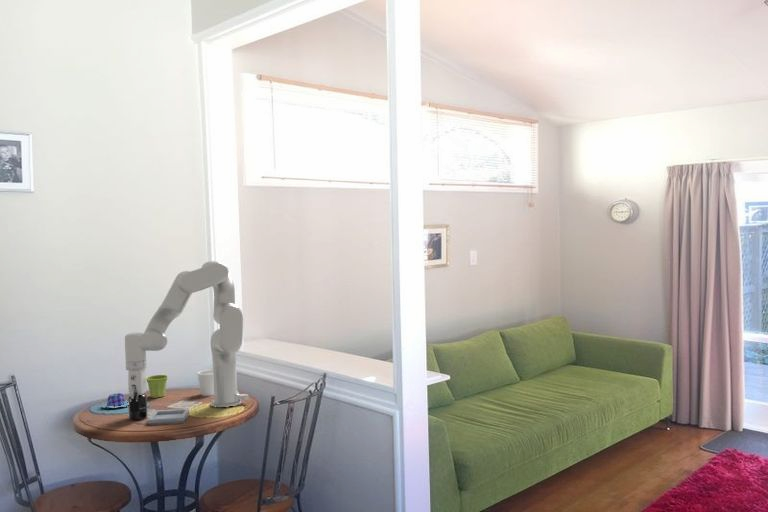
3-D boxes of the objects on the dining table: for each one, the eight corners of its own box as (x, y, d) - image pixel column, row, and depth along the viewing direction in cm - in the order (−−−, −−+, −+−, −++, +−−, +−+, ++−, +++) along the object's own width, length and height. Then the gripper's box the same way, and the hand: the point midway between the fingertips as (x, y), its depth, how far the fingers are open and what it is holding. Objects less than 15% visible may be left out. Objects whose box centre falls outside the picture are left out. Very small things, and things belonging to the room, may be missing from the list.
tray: (189, 413, 265) (189, 408, 265) (183, 422, 252) (183, 417, 252) (155, 415, 263) (155, 410, 263) (147, 425, 250) (147, 419, 250)
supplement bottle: (141, 421, 256) (140, 390, 256) (125, 420, 258) (124, 389, 257) (151, 416, 263) (149, 385, 263) (135, 415, 265) (134, 385, 264)
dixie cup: (218, 391, 302) (218, 369, 302) (215, 396, 294) (214, 373, 293) (200, 392, 301) (199, 370, 301) (196, 397, 293) (195, 374, 293)
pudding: (126, 402, 289) (125, 389, 289) (136, 406, 280) (135, 394, 280) (97, 407, 281) (96, 394, 281) (106, 412, 272) (105, 399, 272)
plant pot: (164, 398, 291) (163, 379, 291) (143, 399, 292) (142, 379, 291) (171, 393, 301) (171, 374, 301) (151, 394, 301) (150, 375, 301)
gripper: (140, 368, 252) (142, 413, 252) (151, 360, 269) (152, 402, 269) (120, 369, 251) (122, 415, 251) (131, 361, 268) (133, 403, 268)
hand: (137, 408), depth 260 cm, fingers open, 9 cm apart
